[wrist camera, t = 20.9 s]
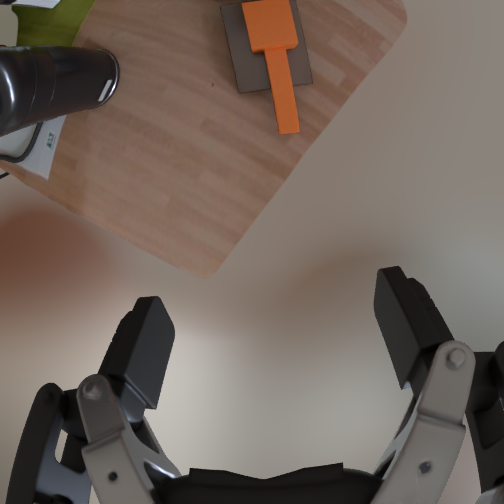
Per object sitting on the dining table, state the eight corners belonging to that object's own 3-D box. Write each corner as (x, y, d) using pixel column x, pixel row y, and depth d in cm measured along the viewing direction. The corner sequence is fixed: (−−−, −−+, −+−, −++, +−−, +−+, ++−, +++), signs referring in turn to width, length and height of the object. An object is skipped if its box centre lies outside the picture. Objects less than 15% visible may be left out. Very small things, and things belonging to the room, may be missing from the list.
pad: (240, 93, 31) (239, 93, 30) (222, 10, 25) (220, 6, 23) (310, 84, 30) (313, 83, 29) (292, 0, 24) (294, -5, 22)
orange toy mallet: (268, 133, 32) (268, 138, 29) (243, 12, 24) (241, 3, 20) (308, 128, 32) (313, 132, 28) (285, 7, 23) (287, -3, 20)
